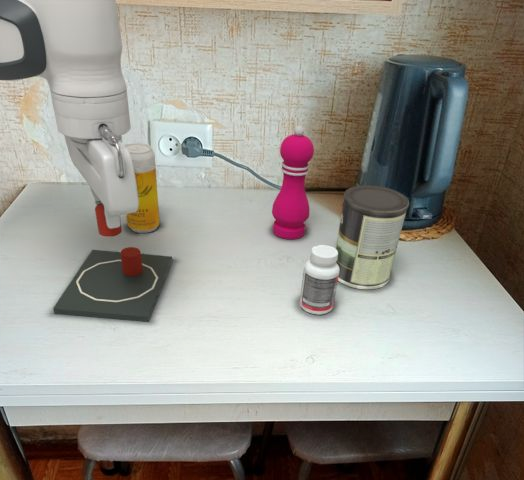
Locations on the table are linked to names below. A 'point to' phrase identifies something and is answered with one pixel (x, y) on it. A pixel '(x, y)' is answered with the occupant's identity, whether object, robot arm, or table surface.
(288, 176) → the pepper mill
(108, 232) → the dot
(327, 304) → the pill bottle
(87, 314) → the slate board
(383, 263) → the coffee can
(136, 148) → the beer can
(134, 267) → the red cylinder
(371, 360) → the table surface
